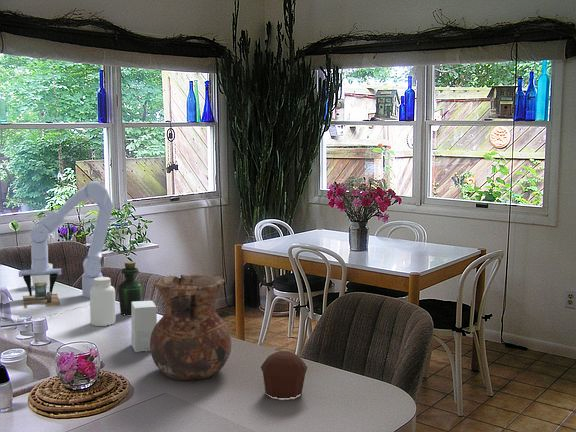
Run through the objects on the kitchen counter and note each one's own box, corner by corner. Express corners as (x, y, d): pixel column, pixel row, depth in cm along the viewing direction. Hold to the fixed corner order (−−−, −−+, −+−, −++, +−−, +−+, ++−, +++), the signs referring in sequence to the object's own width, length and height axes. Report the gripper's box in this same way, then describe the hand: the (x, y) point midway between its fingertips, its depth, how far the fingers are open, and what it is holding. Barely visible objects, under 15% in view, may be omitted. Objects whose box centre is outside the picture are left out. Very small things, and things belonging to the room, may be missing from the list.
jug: (142, 363, 183) (142, 272, 180) (216, 354, 191) (217, 268, 188) (160, 392, 162) (160, 290, 160) (242, 381, 171) (244, 284, 168)
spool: (49, 297, 247) (49, 283, 246) (40, 300, 243) (39, 285, 243) (41, 296, 249) (41, 281, 248) (32, 298, 245) (31, 283, 245)
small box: (157, 350, 193) (157, 306, 192) (134, 352, 191) (134, 308, 190) (152, 342, 201) (152, 299, 200) (131, 344, 199) (130, 301, 197)
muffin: (313, 400, 159) (314, 359, 158) (267, 405, 156) (268, 363, 155) (298, 383, 170) (299, 344, 169) (255, 386, 167) (256, 347, 166)
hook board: (61, 309, 236) (60, 295, 236) (23, 312, 232) (23, 298, 231) (57, 297, 254) (56, 284, 253) (22, 299, 249) (22, 286, 248)
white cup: (46, 292, 261) (45, 267, 260) (27, 291, 262) (27, 266, 261) (56, 288, 268) (56, 263, 267) (39, 287, 270) (38, 262, 269)
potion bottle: (113, 313, 233) (113, 261, 231) (134, 309, 238) (134, 259, 236) (125, 318, 227) (125, 265, 225) (146, 314, 232) (146, 262, 230)
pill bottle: (85, 325, 218) (84, 279, 216) (100, 319, 225) (100, 275, 224) (105, 328, 215) (104, 282, 213) (120, 321, 222) (120, 277, 221)
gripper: (60, 255, 251) (60, 291, 253) (18, 257, 245) (19, 293, 247) (61, 258, 245) (62, 295, 246) (18, 260, 239) (19, 298, 241)
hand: (40, 294), depth 246 cm, fingers open, 6 cm apart
